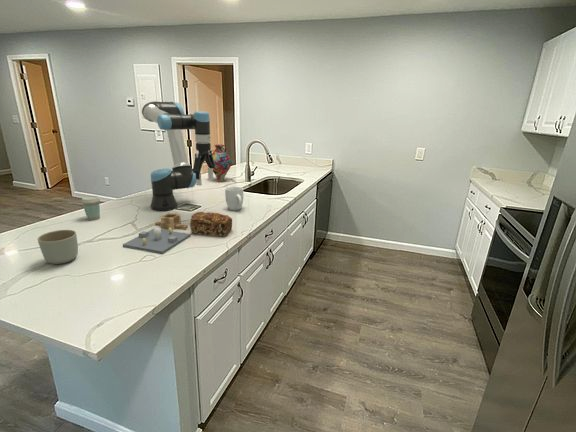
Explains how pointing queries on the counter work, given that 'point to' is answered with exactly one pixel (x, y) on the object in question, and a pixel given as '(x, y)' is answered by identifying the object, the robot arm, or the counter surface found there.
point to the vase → (221, 163)
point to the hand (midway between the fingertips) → (205, 182)
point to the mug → (234, 197)
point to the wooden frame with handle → (171, 222)
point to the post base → (157, 240)
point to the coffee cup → (91, 207)
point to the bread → (211, 224)
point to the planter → (59, 246)
